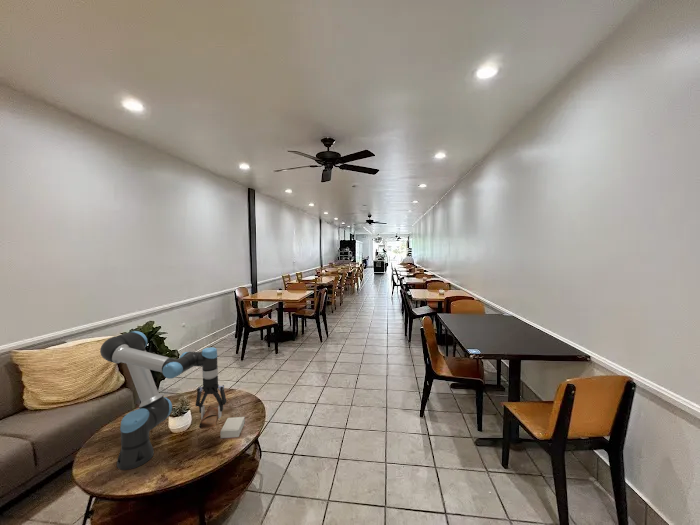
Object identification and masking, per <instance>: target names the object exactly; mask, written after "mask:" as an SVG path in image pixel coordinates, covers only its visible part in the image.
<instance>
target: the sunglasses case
mask: <svg viewBox="0 0 700 525" xmlns="http://www.w3.org/2000/svg"><path fill="white" fill-rule="evenodd" d="M218 420H219V418H218V407H213V406H212V405H209V406H208V407H207V409H206V410H205V414H204V416H203V418H202V420H200V423H199V425H198V428H200V430H204V429H205V430H206V429H212V428H215V427H217V424H218Z"/></svg>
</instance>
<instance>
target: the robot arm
mask: <svg viewBox="0 0 700 525" xmlns="http://www.w3.org/2000/svg"><path fill="white" fill-rule="evenodd" d="M147 346H148V338H147V336H146V335H145V334H144V332H141V331H139V330H134V331H133V330H132V331H128V332H125V333H123V334H119V335H115V336H112V337H110V338H108V339H106V340H105V341H104V342H103V343H102V345H101V346H100V348H99V350H100V355H101V357H102V358H103V359H104V360H105V361H107V362H108V363H109V362H110V363H114V364H120V363H123V364H126V367H127V369H128V371H129V374H130V377H131V380H132V381H133V382H132V383H133V384H134V387H135V390H136V392H137V396H138V398H139V400H140V404H139V406H138V409H135V410H132V411H130V412H128V413H127V414H125V415H124V416H123V417H122V419H121V422H120V427H119V428H120V445H121V446H120V452H119V454H118V457H117V459H116V467H117V469H118V470H124V471H127V470H131V469H135V468H137V467H140V466H142V465H144V464H146V463H148V462H149V461H150V460H151V459H152V457H154V452H155V451H154V447H153V445H152V442H151V440H150V431H152V430H153V429H154V428H156V427H157V426H158V425H160V424H161V423H163V422H164V421H165V420H166V419H168V417H169V416H170V415H171V414H172V411H173V403H172V401H171V400H170V399H169V398H168V397H164V395H163V394H161V393H159V390H158V387H157V386H156V382H155V380H154V378H153V374H152V372H151V371H154V372H160V373H162V375H163V376H164V377H165V379H170V380H171V379H174V378H176V377H178V376H180V375H181V374H183V373H185V372H187V371H188V370H190V369H193V367H201V368H202V386H199V387H198V388H196V392H197V394H196V399H195V407H199V408H198V409H199V414H200V418H201V420H202V418H203V416H204V414H205V412H206V408H205V404H204V403H205V401H206V398H207V396H208V395H213V397H214V398H215V399H216V401H217V403H218V406H217V408H218V419H221V417H222V416H223V414H222V412H223V410H224V405H226V403H227V402H228V401H227V398H226V392H225V385H224V384H222V385H219V376H218V375H219V373H218V372H219V370H218V349H217V348H216V347H213V346H212V347H206V348H203V349H202V350H201V351H185V352H182V353H181V355H180V356H179V358H172V357H168V356H166V355H165V356H164V355H161V354H156V353H153V352H150V351H149V352H148V351H147V350H146V347H147ZM202 392H204V394H203V396H202ZM219 392H220V393H219ZM201 420H200V421H201Z"/></svg>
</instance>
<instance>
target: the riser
mask: <svg viewBox="0 0 700 525" xmlns="http://www.w3.org/2000/svg"><path fill="white" fill-rule="evenodd" d="M245 418H246V417H245V416H239V417H238V416H236V417H227V419H226V421H225V422H224V424H223V426H222V428H221V429H220V439H229V438H230V439H231V438H239V437H240V435H241V433H242V430H243V427H244V425H245V422H246V421H245Z"/></svg>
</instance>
